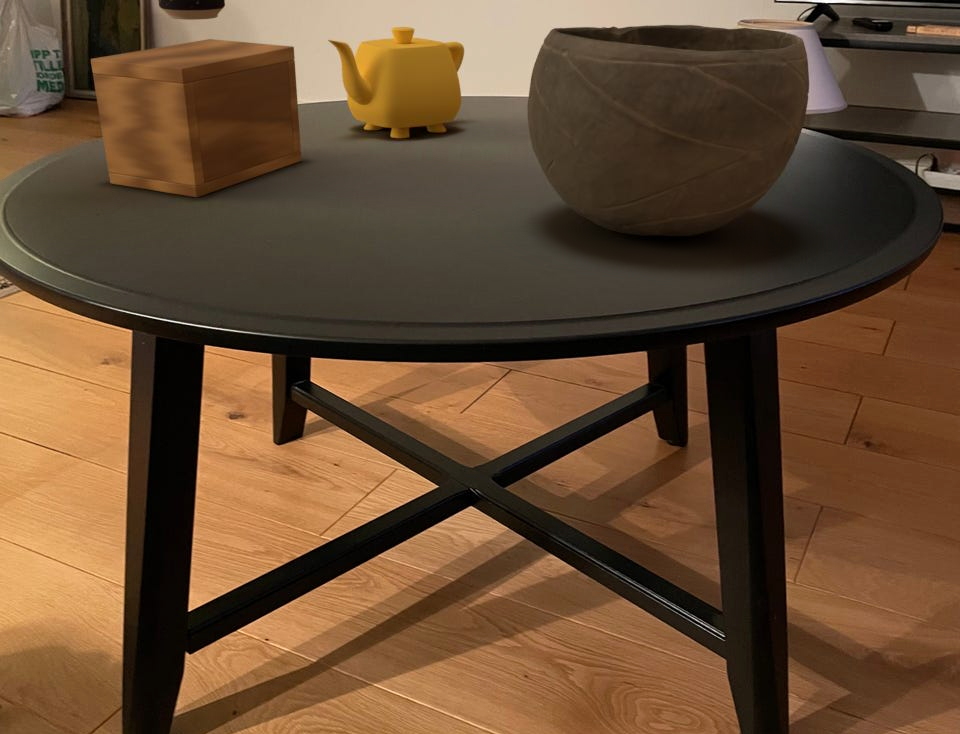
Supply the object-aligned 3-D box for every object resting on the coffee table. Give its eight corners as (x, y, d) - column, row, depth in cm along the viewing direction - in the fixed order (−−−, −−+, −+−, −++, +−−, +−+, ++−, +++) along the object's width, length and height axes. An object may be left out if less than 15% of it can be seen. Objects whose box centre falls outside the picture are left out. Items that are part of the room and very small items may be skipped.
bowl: (835, 232, 84) (872, 35, 77) (670, 287, 71) (696, 58, 64) (638, 182, 97) (654, 10, 90) (472, 221, 85) (474, 25, 78)
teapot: (361, 149, 108) (357, 39, 102) (306, 131, 115) (299, 28, 110) (492, 128, 118) (494, 27, 113) (433, 113, 125) (432, 18, 120)
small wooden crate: (110, 183, 94) (90, 58, 88) (221, 149, 106) (209, 38, 101) (197, 197, 90) (181, 68, 85) (301, 161, 103) (294, 46, 97)
